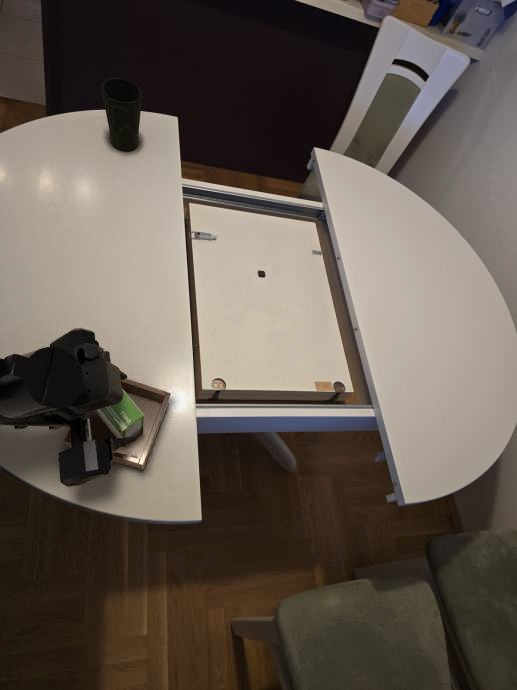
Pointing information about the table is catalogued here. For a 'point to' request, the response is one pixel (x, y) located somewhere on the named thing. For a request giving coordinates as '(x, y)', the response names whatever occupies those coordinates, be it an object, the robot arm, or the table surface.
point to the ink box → (123, 418)
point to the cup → (122, 112)
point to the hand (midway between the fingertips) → (129, 407)
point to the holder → (153, 410)
